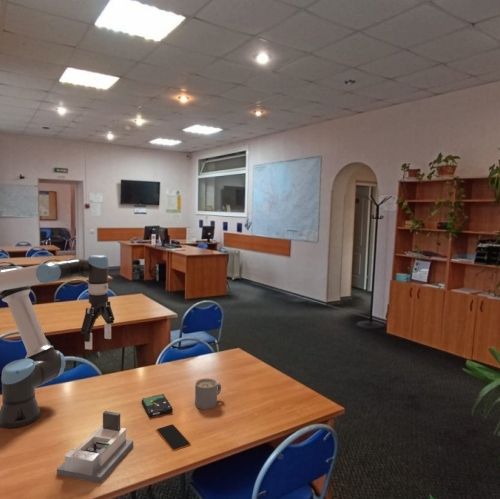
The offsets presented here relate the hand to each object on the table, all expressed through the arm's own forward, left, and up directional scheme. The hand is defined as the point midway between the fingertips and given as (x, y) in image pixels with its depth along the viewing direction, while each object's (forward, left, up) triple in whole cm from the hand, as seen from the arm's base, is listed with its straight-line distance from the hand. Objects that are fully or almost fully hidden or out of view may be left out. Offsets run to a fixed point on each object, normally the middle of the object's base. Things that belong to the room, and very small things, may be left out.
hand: (98, 343), depth 163 cm
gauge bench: (+16, -25, -32) cm, 43 cm away
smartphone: (+36, -6, -32) cm, 49 cm away
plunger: (+16, -19, -29) cm, 39 cm away
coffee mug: (+41, +24, -32) cm, 57 cm away
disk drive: (+20, +14, -32) cm, 40 cm away
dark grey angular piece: (+17, -27, -29) cm, 43 cm away
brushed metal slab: (+16, -34, -30) cm, 48 cm away
